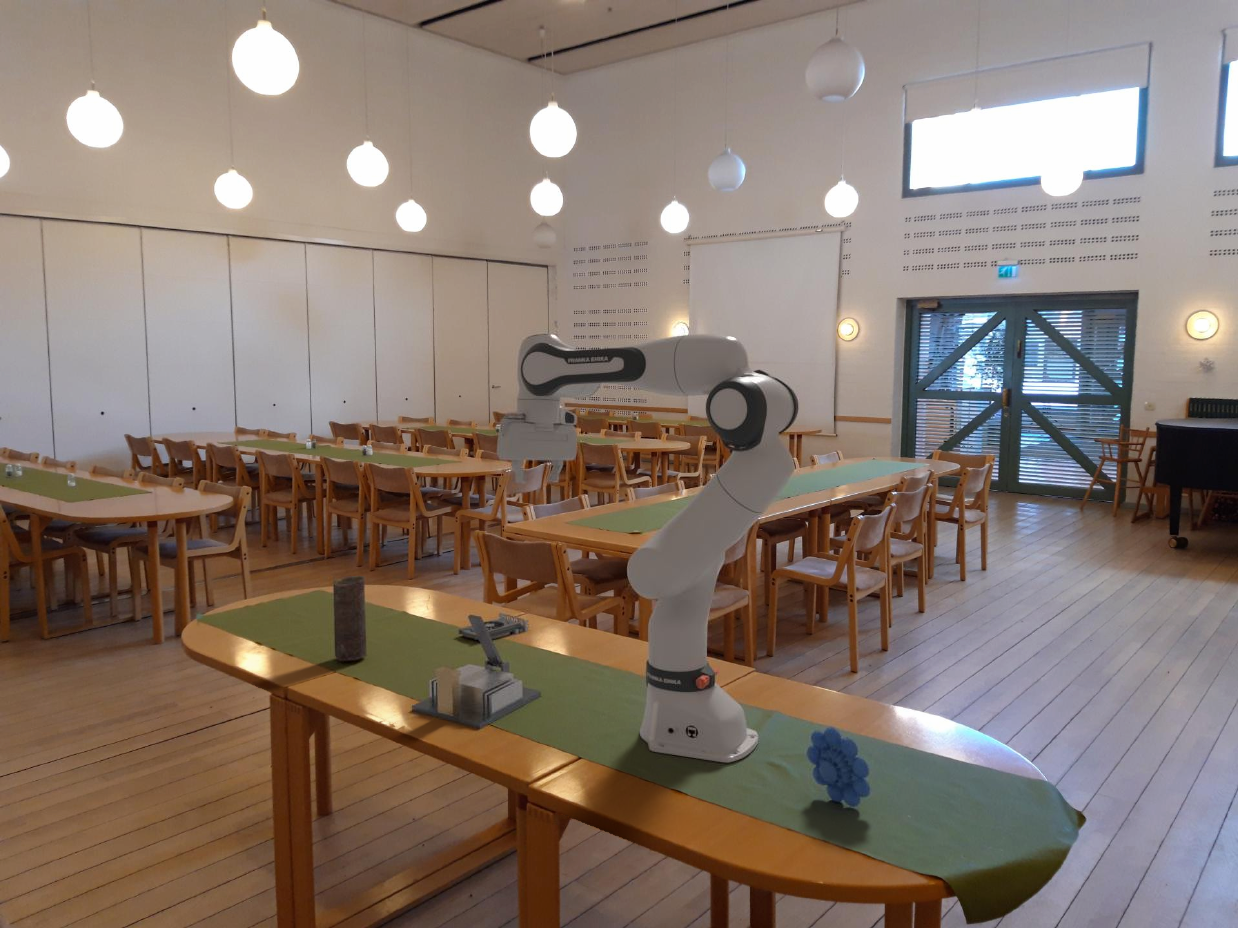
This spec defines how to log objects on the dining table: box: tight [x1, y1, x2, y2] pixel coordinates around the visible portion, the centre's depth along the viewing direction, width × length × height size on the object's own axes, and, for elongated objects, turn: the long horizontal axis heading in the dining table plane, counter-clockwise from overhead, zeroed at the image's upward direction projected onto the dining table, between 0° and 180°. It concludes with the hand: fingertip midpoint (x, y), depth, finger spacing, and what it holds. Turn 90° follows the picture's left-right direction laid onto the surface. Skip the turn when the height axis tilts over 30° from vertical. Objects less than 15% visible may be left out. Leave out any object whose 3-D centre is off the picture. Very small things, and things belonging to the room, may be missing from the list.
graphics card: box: [458, 612, 530, 641], centre depth 232 cm, size 17×4×12 cm
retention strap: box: [467, 614, 505, 669], centre depth 185 cm, size 15×3×1 cm
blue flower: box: [806, 726, 871, 808], centre depth 141 cm, size 12×7×12 cm, turn 43°
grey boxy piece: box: [411, 659, 542, 730], centre depth 184 cm, size 18×20×10 cm
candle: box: [332, 575, 368, 662], centre depth 210 cm, size 8×7×20 cm
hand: (537, 482), depth 180 cm, fingers open, 8 cm apart
